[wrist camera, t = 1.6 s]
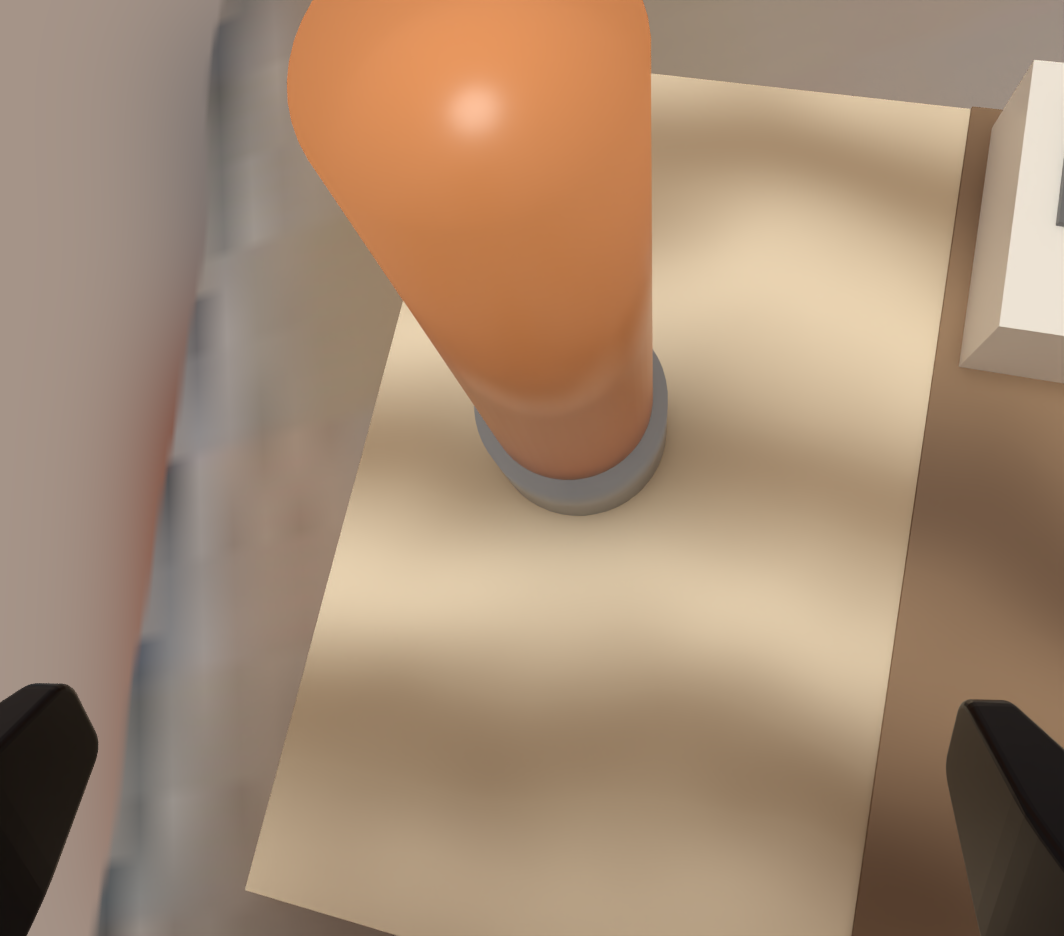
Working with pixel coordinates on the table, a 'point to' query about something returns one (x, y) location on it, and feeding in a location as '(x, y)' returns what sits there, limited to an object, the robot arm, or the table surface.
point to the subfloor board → (700, 579)
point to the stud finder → (1021, 237)
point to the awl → (506, 214)
